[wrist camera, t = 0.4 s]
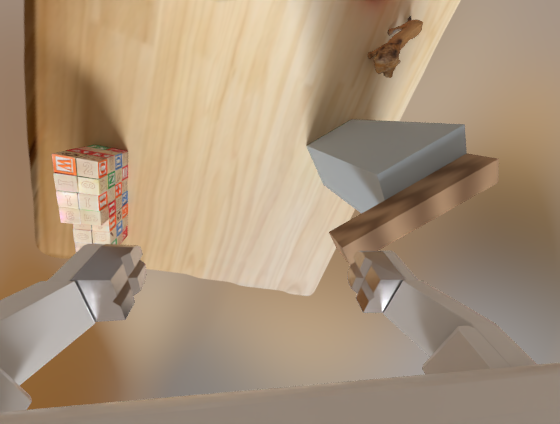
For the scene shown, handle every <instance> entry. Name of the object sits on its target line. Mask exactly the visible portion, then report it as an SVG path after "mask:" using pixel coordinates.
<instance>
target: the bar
mask: <svg viewBox="0 0 560 424" xmlns="http://www.w3.org/2000/svg"><path fill="white" fill-rule="evenodd" d="M496 183H498V159H496V158H490V157H484V156H478V155H472V154H465V155H463V156H461V157H460V158H458V159H456V160H454V161H453V162H451V163H449V164H447V165H446V166H444V167H442V168H440V169H439V170H437V171H435V172H433V173H432V174H430V175H428V176H426V177H425V178H423V179H421V180H419V181H418V182H416V183H414V184H412V185H411V186H409V187H407V188H405V189H404V190H402V191H400V192H398V193H397V194H395V195H393V196H391V197H390V198H388V199H386V200H384V201H383V202H381V203H379V204H377V205H376V206H374V207H372V208H370V209H369V210H367V211H365V212H363V213H362V214H360V215H358V216H356V217H355V218H353V219H351V220H349V221H348V222H346V223H344V224H342V225H341V226H339V227H337V228H335V229H334V230H332V231H330V232H329V233H330V235H331V237H332V240H333V242H334V244H335V246H336V248H337V249H338V251H339V252H340V253H341V255H342V256H343V257H344V258H345V260H346V261H347V262H348V263H349V264H350V265H351V264H353V263H354V259H353V256H354V254H355V253H356V252H357V251H378V250H380V249H382V248H383V247H385V246H387V245H389V244H390V243H392V242H394V241H396V240H398V239H399V238H401V237H403V236H405V235H406V234H408V233H410V232H412V231H413V230H415V229H417V228H419V227H420V226H422V225H424V224H426V223H427V222H429V221H431V220H433V219H435V218H436V217H438V216H440V215H442V214H443V213H445V212H447V211H449V210H451V209H452V208H454V207H456V206H458V205H459V204H461V203H463V202H465V201H466V200H468V199H470V198H472V197H473V196H475V195H477V194H479V193H481V192H482V191H484V190H486V189H488V188H489V187H491V186H493V185H495V184H496Z"/></svg>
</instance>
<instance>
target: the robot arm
mask: <svg viewBox="0 0 560 424" xmlns="http://www.w3.org/2000/svg"><path fill="white" fill-rule="evenodd" d="M142 255H143V253H142V250H141V247H140V246H138V245H118V244H86V245H84V246H83V247H82V248H81V249H80V250H79V251H78V252H76V253H75V254H74V255H73V256H72V257H71V258H70V259H69V260H68V261H67V262H66V263H65V264H64V265H63V266H62V267H61V268H60V269H59V270H58V271H57V272H56V273H55V274H54V275H53V276H52V277H51V278H50V279H49V280H48V281H41V282H38V283H36V284H34V285H32V286H30V287H28V288H26V289H23V290H21V291H19V292H17V293H15V294H13V295H11V296H9V297H6V298H4V299H2V300H0V424H560V363H550V364H539V365H537V364H536V363H535V362H534V361H533V360H532V359H531V358H530V357H529V356H528V355H527V354H526V353H525V352H524V351H523V350H522V349H521V348H520V347H519V346H518V345H517V344H516V343H515V342H514V341H513V340H512V339H511V338H510V337H509V336H508V335H507V334H506V333H505V332H504V331H503V330H502V329H501V328H500V327H499V326H497V324H496V323H494V322H492V321H490V320H489V319H487V318H485V317H484V316H482V315H480V314H478V313H477V312H475V311H474V310H472V309H470V308H468V307H467V306H465V305H463V304H462V303H460V302H458V301H456V300H455V299H453V298H451V297H450V296H448V295H446V294H445V293H443V292H441V291H439V290H438V289H436V288H434V287H433V286H431V285H429V284H428V283H426V282H424V281H422V280H421V281H420V280H418V279H417V278H416V276H415V275H414V274H413V273H412V272H411V271H410V269H409V268H408V267H407V266H406V265H405V264H404V263H403V261H402V260H401V259H400V258H399V257H398V256H397V254H396V253H394V252H393V251H357V252H356V253H355V254H354V256H353V259H354V263H353V264H351V265H350V266H349V269H348V282H349V285H350V287H351V289H352V290H354V291H355V292H356V293H357V295H356V299H357V301H358V303H359V305H360V307H361V309H362V311H363V313H383V314H384V315H385V316H386V317H387V318H388V319H389V320H390V321H391V322H392V323H394V324H395V325H396V326H397V327H398V328H399V329H400V330H401V331H402V332H403V333H404V334H405V335H406V336H408V337H409V338H410V339H411V340H412V341H413V342H414V343H415V344H416V345H417V346H418V347H419V348H420V349H422V350H423V351H424V352H425V353H426V354H427V355H428V356H429V357H430V358H429V359H428V360H427V361H426V362H425V363H424V364H423V367H422V369H423V371H424V373H425V375H415V376H403V377H392V378H381V379H370V380H358V381H347V382H337V383H326V384H325V383H324V384H313V385H302V386H291V387H280V388H268V389H257V390H245V391H234V392H223V393H212V394H201V395H189V396H178V397H167V398H155V399H144V400H134V401H122V402H110V403H99V404H88V405H77V406H66V407H54V408H43V409H32V410H26V409H27V408H28V406H29V405H30V403H31V397H30V395H28V394H27V393H26V392H25V391H24V390H23V389H22V388H21V387H20V386H19V385H20V384H22V383H23V382H24V381H25V380H27V379H28V378H29V377H30V376H32V375H33V374H34V373H35V372H36V371H38V370H39V369H40V368H41V367H42V366H44V365H45V364H46V363H47V362H49V361H50V360H51V359H52V358H53V357H55V356H56V355H57V354H58V353H60V352H61V351H62V350H63V349H64V348H66V347H67V346H68V345H69V344H70V343H72V342H73V341H74V340H75V339H77V338H78V337H79V336H80V335H81V334H83V333H84V332H85V331H86V330H87V329H89V328H90V327H91V326H92V325H93V324H94V323H95V322H98V321H114V320H115V321H116V320H125V319H126V318H127V316H128V314H129V312H130V310H131V308H132V306H133V305H134V303H135V300H134V297H133V296H134V295H135V294H137V293H138V292H139V291H141V289H142V287H143V285H144V282H145V278H146V266H145V263H143V262H142V261H141V260H140V258H141V256H142Z"/></svg>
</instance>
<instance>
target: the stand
mask: <svg viewBox="0 0 560 424" xmlns="http://www.w3.org/2000/svg"><path fill="white" fill-rule="evenodd" d="M307 148H308V150H309V153H310V155H311V157H312V160H313V162H314V164H315V166H316V169H317V171H318V173H319V175H320V178H321V180H322V182H323V185H324V186H326V187H327V188H328V189H330V190H331V191H332V192H334V193H335V194H336V195H338V196H339V197H340V198H342V199H343V200H344V201H346V202H347V203H348V204H350V205H351V206H352V207H354V208H355V209H356V210H358V211H359V212H360V213H363V212H365V211H367V210H369V209H370V208H372V207H374V206H376V205H377V204H379V203H381V202H383V201H384V200H386V199H388V198H390V197H391V196H393V195H395V194H397V193H398V192H400V191H402V190H404V189H405V188H407V187H409V186H411V185H412V184H414V183H416V182H418V181H419V180H421V179H423V178H425V177H426V176H428V175H430V174H432V173H433V172H435V171H437V170H439V169H440V168H442V167H444V166H446V165H447V164H449V163H451V162H453V161H454V160H456V159H458V158H460V157H461V156H463V155H465V154H466V139H465V125H464V124H442V123H420V122H398V121H376V120H354V119H351V120H350V121H348V122H346V123H345V124H343V125H341V126H339V127H338V128H336V129H334V130H333V131H331V132H329V133H327V134H326V135H324V136H322V137H321V138H319V139H317V140H315V141H314V142H312V143H310V144H309V145H307Z"/></svg>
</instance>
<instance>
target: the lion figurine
mask: <svg viewBox="0 0 560 424" xmlns="http://www.w3.org/2000/svg"><path fill="white" fill-rule="evenodd" d="M422 25H423V22H422V21H419V20H411V16H410V17H409V18H408V22H406V23H405V24H403V25H401V26H398V27H396V28H392V29H389V30H388V34H389V35H392V34H393V33H395V32H396V31H399V30H402V31H400V32H399V33H397V34H395V35H394V36H393V37H392V38H391V39H390V40H389V41H388V42H387V43H386V44H384V45H382V46H381V47H379V48H377V49H376V50H374V51H372V52H369V53H368V58H369V59H370V58H372V57H374V56H375V55H376V56H375V58H374V59H375V60H374V62H375V68H376V69H375V70H376V72H377V73H378V74H380V73H382V72H383V74H384V76H385V77H387V78H391V77H392V74H393V71H394V70H395V67H396V66H397V65H398V64H399V63H400V60H399V53H400V50H401V49H402V48H403V47H404V46H405V44H406V43H407V42H408V41H409V40H410V39H413V38H414V37H416V36H417V35H418V34H419V33H420V32H421V30H422Z"/></svg>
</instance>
